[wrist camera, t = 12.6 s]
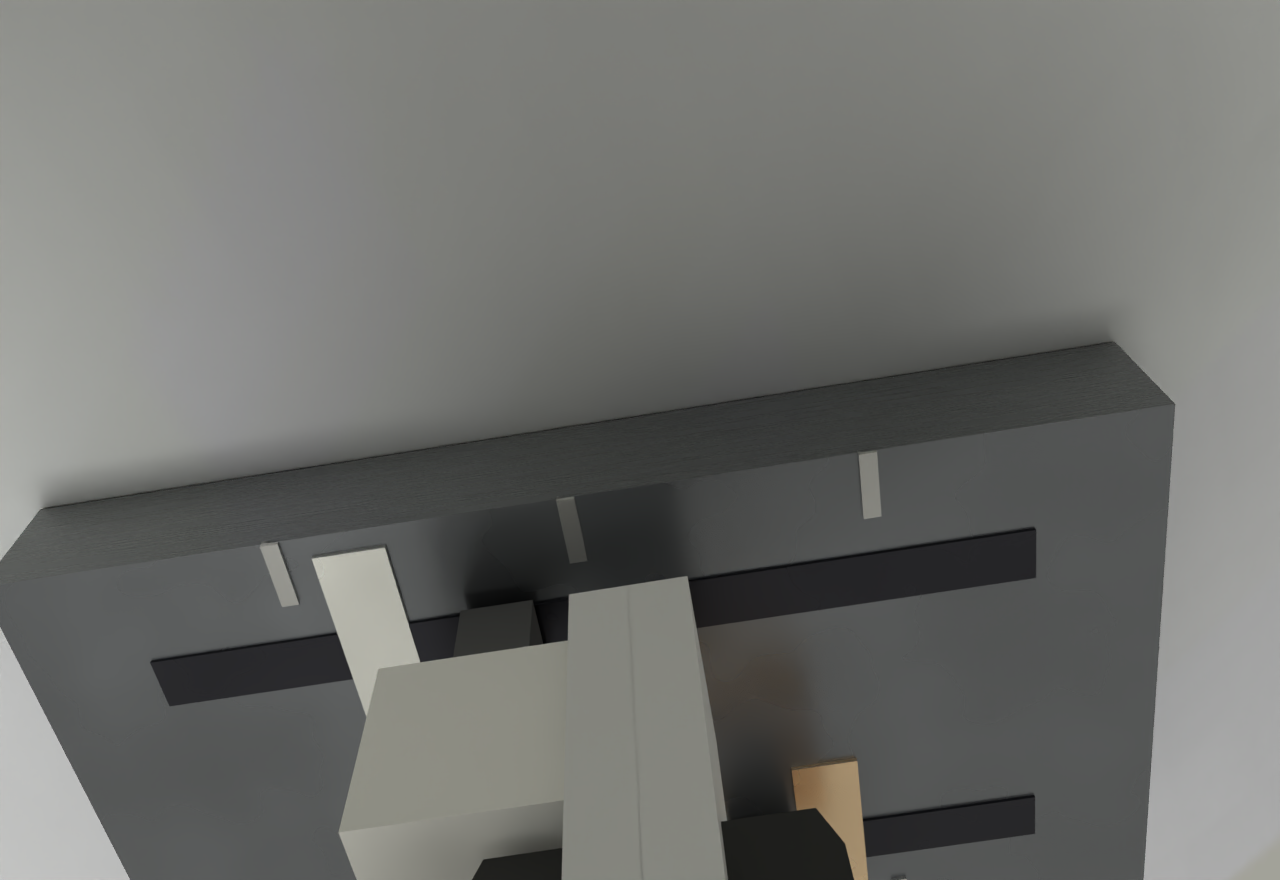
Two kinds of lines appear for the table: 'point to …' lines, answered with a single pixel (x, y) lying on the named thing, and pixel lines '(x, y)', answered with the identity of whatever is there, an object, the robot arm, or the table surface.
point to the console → (644, 552)
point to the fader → (462, 754)
